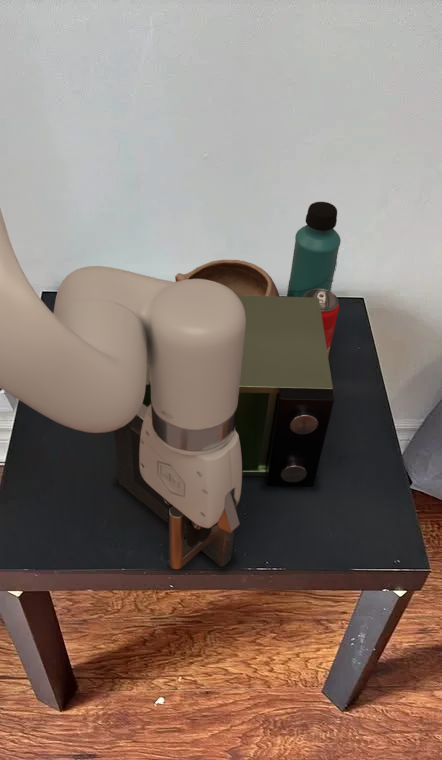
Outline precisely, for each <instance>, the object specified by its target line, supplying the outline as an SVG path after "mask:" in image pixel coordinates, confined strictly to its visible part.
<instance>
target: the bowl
mask: <svg viewBox="0 0 442 760" xmlns="http://www.w3.org/2000/svg"><path fill="white" fill-rule="evenodd" d="M174 279H175V282H178V281H182V280H188V279H205V280H210V281H214V282H217V283H220V284H222V285H224V286H226V287H228V288H229V289H231V290H232V291H233V292H234V293H235V294H236V295H249V296H280V293H279V290H278V287H277V286H276V283H275V281H274V280H273V278H272V277H271V276H270V274H269V273H268V272H266V271H265V270H264V268H261V267H260V266H259V265H257V264H254V263H251V262H249V261H245V260H240V259H219V260H213V261H212V260H211V261H209V262H207V263H205V264H204V263H203V264H202V265H199V266H197V267H196V268H194V269H193V270H191V271H189V272H188V273H180V272H178V273H177V274H176V275H175V276H174Z"/></svg>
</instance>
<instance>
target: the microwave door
mask: <svg viewBox="0 0 442 760" xmlns="http://www.w3.org/2000/svg"><path fill="white" fill-rule="evenodd" d="M147 409H148V407H147V406H145V405H144V404H143V403H142V405H141V407H140V410H139V412H138V413H137V414H136V416H135V417H134V418H133V419H132V420H131V421H130V422H129V423H128V424H126V425H125V426H123V427H121V428H119V429H117V430H114V431H113V432H114V442H115V443H114V444H115V454H116V463H117V464H116V466H117V474H118V475H117V476H118V484H119V485H120V486H122V487H123V488H124V489H125V490H127V491H128V492H129V493H130V494H131V495H132V496H134V498H136V499H137V500H139V501H140V502H141V503H142V504H143V505H145V507H147V508H148V509H150V511H152V512H153V513H154V514H156V515H157V516H158V517H159V518H160V519H162V520H163V521H164V522H165V523H167V524H168V507H169V505H167V504H166V503H165V502H164V500H163V497H162V496H161V495H160V494H159V493H158V492H156V491H155V490H154V489H153V488H152V487H151V486H150V485H149V484H148V483H147V482H146V481H145V480H144V479H143V477H142V476H141V473H140V467H139V448H140V436H141V429H142V424H143V421H144V417H145V414H146V411H147ZM235 509H236V512H237V513H238V505H237V506H235ZM188 519H189V518H188V517H187V516H185V515H184V514H183V513H182V512H180V511H179V510H178V509H177V508H176V507H174V506H172V507H171V508H170V509H169V529H168V565H169V567H170V568H171V569H173V570H179V569H181V568H183V567H184V566H185V565H186V564H188V563H189V562H190V561H191V560H192V559H193V558H194V557H195V556H196V555H197V554H199V553H200V552H202V553H203V554H204V555H205V556H207V557H208V558H209V559H210V560H211V561H213V562H214V563H215V564H217V566H219V567H220V568H223V567H225V566H226V565H227V564H228V563H230V562H231V561H232V554H233V547H234V539H235V538H234V537H235V530H233V531H232V532H231V533H230V532H227V531H225V530H223V529H221V528H219V526H217V525H216V526H215V527H212V528H211V534H210V536H209V537H208V538H207V539H206V540H205V541H203V542H200V541H199V542H197V543H196V544H195V545H194V546H193V547H190V546H188V545H187V542H186V535H187V523H188V522H189V521H190V519H189V520H188ZM187 520H188V521H187ZM186 521H187V522H186ZM184 522H185V523H184Z"/></svg>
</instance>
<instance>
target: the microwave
mask: <svg viewBox="0 0 442 760" xmlns="http://www.w3.org/2000/svg"><path fill="white" fill-rule="evenodd" d="M237 296H238V298H239V299H240V301H241V302H242V305H243V307H244V310H245V315H246V328H245V338H244V348H243V357H242V367H241V377H240V386H239V395H238V405H237V414H236V425H235V430H236V432H237V433H238V435H239V440H240V447H241V457H242V477H265V485H266V486H282V487H283V486H287V487H288V486H289V487H314V484H315V480H316V476H317V472H318V469H319V465H320V460H321V456H322V452H323V448H324V444H325V440H326V436H327V431H328V427H329V423H330V420H331V417H332V416H331V415H332V411H333V408H334V403H335V396H334V385H333V381H332V373H331V367H330V360H329V356H328V353H327V347H326V341H325V334H324V328H323V322H322V315H321V309H320V302H319V298H313V297H287V296H280V295H279V296H249V295H237ZM149 378H150V366H149V364H148V363H147V376H146V388H145V396H144V400H143V404H144V405H145V406H147V407H149V405H150V404H151V385H149V382H148V381H149Z"/></svg>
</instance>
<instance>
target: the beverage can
mask: <svg viewBox="0 0 442 760" xmlns="http://www.w3.org/2000/svg"><path fill="white" fill-rule="evenodd" d="M303 297H313V298H319V302H320V309H321V315H322V322H323V328H324V334H325V341H326V347H327V353H328V357H329V356H330V351H331V347H332V343H333V337H334V333H335V329H336V328H335V327H336V324H337V319H338V314H339V310H340V304H339V299H338V297H337V295H336V294H335V293H334V292H332V291H331V292H330V291H328V290H325V289H312V290H309V291H307V292H306V293H305V294H304V296H303Z"/></svg>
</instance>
